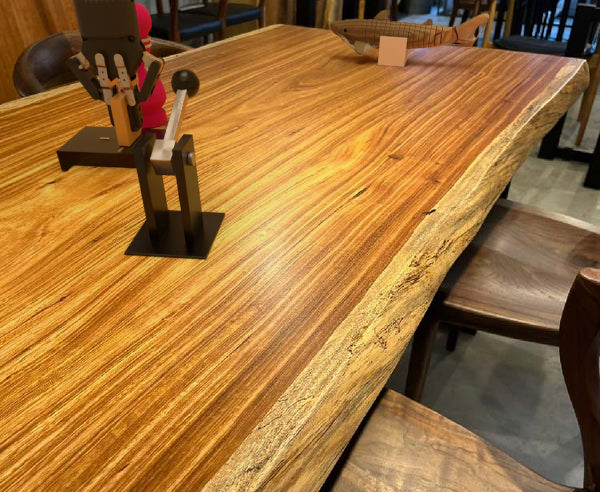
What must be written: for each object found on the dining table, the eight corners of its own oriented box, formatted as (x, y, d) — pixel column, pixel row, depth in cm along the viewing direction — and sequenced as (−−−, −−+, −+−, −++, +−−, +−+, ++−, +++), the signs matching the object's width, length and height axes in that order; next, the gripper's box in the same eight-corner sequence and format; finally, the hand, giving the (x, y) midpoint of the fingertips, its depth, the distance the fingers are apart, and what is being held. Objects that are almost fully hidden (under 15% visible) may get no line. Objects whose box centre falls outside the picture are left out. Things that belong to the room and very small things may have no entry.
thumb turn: (129, 146, 76) (120, 98, 72) (118, 146, 76) (108, 97, 72) (141, 133, 80) (133, 87, 76) (131, 133, 80) (122, 86, 76)
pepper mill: (155, 131, 89) (133, -5, 77) (118, 126, 91) (91, -8, 79) (177, 118, 95) (160, -12, 82) (142, 113, 97) (120, -15, 84)
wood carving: (478, 74, 118) (489, 17, 111) (324, 62, 125) (326, 8, 118) (479, 64, 125) (489, 10, 118) (333, 53, 132) (335, 2, 125)
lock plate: (61, 170, 77) (55, 149, 75) (89, 144, 85) (85, 124, 83) (156, 175, 76) (152, 153, 74) (176, 148, 84) (173, 128, 82)
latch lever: (177, 85, 63) (171, 61, 60) (204, 85, 63) (199, 62, 60) (152, 177, 57) (143, 156, 54) (181, 179, 56) (174, 157, 53)
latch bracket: (154, 217, 66) (136, 122, 59) (226, 221, 65) (217, 125, 58) (125, 262, 58) (101, 158, 51) (206, 266, 57) (194, 162, 50)
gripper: (35, -4, 65) (72, 137, 75) (145, -2, 63) (167, 141, 74) (63, -13, 70) (93, 119, 81) (164, -11, 69) (182, 122, 80)
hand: (128, 129), depth 77 cm, fingers closed on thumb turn
